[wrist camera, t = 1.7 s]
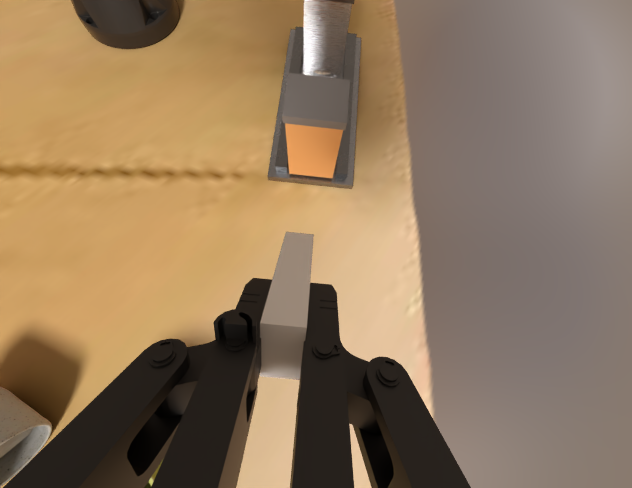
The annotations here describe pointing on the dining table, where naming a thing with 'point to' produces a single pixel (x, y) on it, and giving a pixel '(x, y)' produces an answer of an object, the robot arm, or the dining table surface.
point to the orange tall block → (314, 122)
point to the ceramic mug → (19, 434)
